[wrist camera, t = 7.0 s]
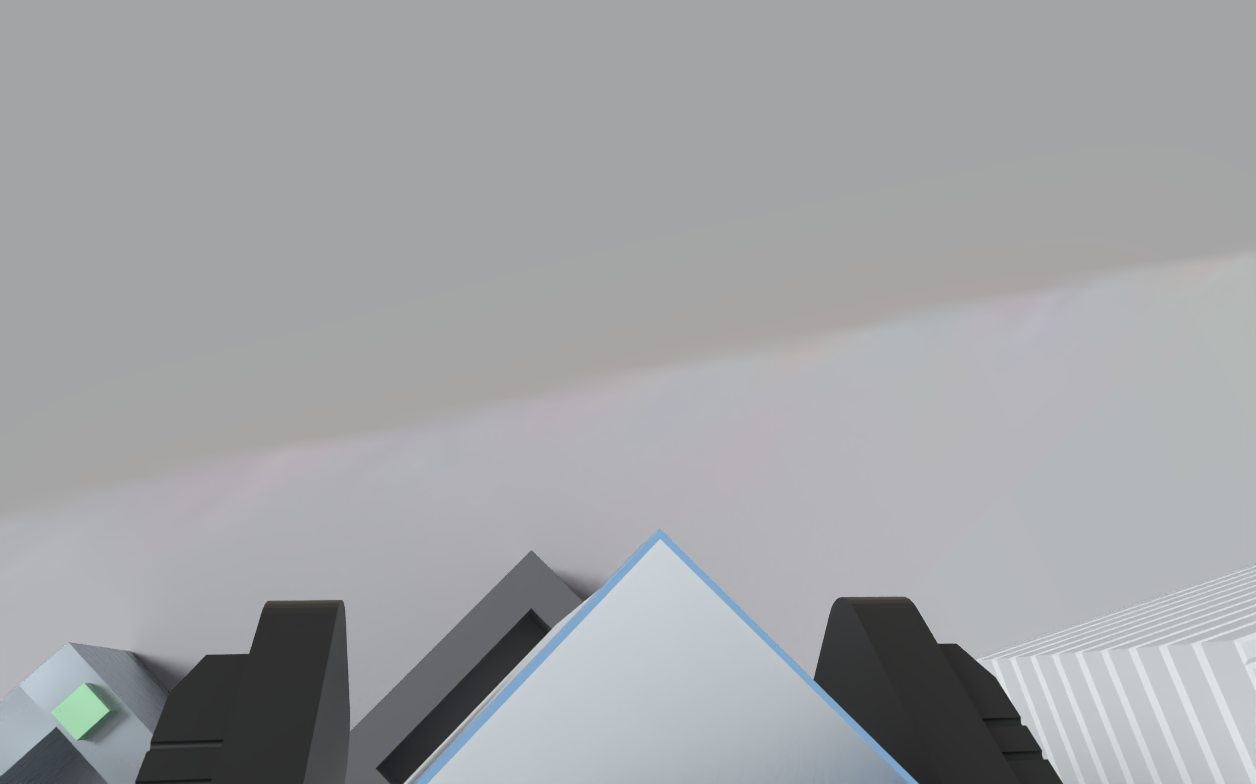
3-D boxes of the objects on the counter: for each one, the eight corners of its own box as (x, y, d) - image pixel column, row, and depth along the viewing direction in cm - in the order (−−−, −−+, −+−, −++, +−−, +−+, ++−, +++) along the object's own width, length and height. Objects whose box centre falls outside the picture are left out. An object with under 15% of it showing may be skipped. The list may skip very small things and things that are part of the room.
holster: (524, 973, 24) (530, 1004, 21) (327, 763, 24) (311, 770, 22) (713, 750, 26) (737, 754, 24) (526, 563, 27) (531, 550, 24)
